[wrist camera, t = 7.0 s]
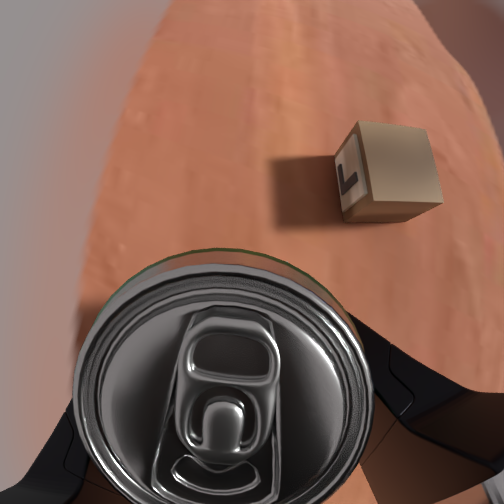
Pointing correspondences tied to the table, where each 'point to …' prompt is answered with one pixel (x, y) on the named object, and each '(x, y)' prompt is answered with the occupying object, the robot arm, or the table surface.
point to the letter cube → (386, 173)
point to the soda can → (223, 384)
